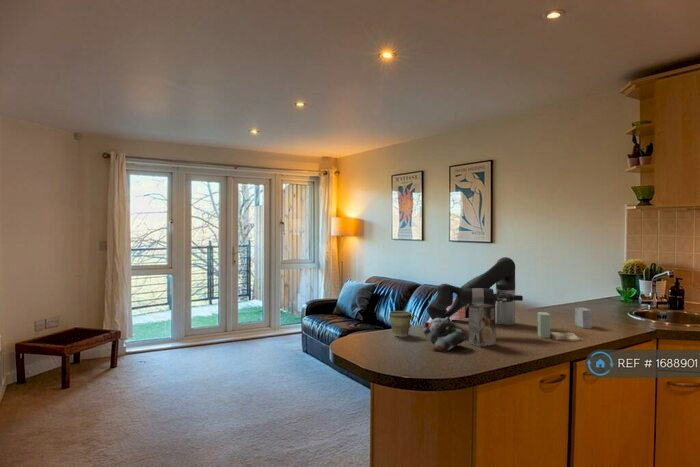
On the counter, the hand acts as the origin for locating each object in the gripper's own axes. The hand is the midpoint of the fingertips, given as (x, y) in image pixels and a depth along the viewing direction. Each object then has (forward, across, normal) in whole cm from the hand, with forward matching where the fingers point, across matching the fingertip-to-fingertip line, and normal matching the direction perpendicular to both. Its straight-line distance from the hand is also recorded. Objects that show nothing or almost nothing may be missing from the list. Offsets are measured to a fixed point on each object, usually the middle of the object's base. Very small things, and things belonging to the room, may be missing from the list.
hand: (522, 298), depth 193 cm
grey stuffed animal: (-34, +28, -17) cm, 47 cm away
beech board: (+18, 0, -16) cm, 24 cm away
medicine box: (+32, -24, -17) cm, 44 cm away
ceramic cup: (-52, +11, -17) cm, 56 cm away
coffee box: (-19, +19, -17) cm, 32 cm away
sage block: (+9, -1, -17) cm, 19 cm away
